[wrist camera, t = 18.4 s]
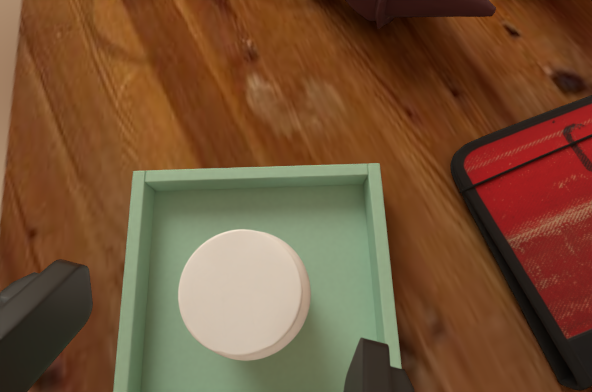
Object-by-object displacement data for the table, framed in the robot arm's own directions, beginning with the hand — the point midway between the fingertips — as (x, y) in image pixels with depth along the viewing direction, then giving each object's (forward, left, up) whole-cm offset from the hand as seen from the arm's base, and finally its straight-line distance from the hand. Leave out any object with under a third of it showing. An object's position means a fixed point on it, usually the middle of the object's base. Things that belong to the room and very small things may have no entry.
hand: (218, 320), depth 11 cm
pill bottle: (0, +1, -13) cm, 13 cm away
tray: (0, +1, -14) cm, 14 cm away
